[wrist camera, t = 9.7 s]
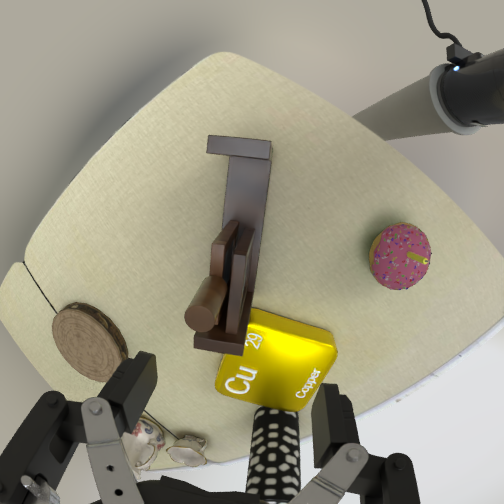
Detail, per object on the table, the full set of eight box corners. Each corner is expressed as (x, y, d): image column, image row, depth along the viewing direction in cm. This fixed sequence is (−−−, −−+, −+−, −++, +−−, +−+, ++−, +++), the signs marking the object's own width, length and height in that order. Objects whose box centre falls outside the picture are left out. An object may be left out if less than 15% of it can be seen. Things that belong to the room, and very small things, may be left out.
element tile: (298, 397, 46) (299, 417, 41) (216, 374, 45) (210, 394, 41) (338, 332, 41) (344, 351, 36) (242, 302, 40) (238, 320, 36)
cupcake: (357, 221, 36) (390, 247, 24) (413, 211, 35) (461, 233, 23) (363, 281, 38) (391, 326, 27) (415, 269, 37) (456, 307, 26)
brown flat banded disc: (140, 375, 47) (134, 385, 44) (80, 369, 49) (73, 378, 46) (109, 300, 43) (100, 308, 40) (49, 303, 45) (40, 310, 42)
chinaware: (145, 454, 60) (132, 502, 44) (97, 422, 55) (76, 472, 39) (222, 437, 53) (215, 501, 38) (166, 397, 48) (145, 469, 33)
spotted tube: (251, 404, 47) (239, 498, 28) (297, 401, 46) (300, 497, 27) (257, 430, 49) (248, 515, 30) (299, 427, 48) (301, 514, 29)
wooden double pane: (232, 144, 34) (208, 134, 21) (273, 149, 34) (271, 141, 21) (217, 291, 40) (193, 348, 28) (253, 297, 40) (242, 356, 27)
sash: (224, 219, 35) (185, 265, 20) (244, 222, 35) (218, 270, 20) (218, 282, 38) (184, 358, 22) (236, 285, 38) (212, 363, 22)
